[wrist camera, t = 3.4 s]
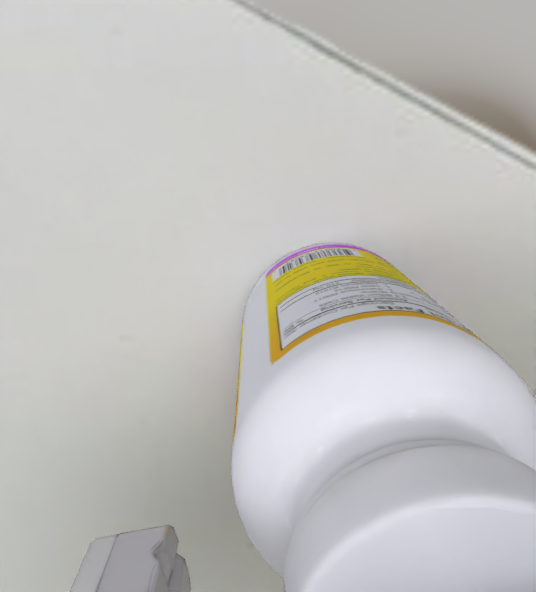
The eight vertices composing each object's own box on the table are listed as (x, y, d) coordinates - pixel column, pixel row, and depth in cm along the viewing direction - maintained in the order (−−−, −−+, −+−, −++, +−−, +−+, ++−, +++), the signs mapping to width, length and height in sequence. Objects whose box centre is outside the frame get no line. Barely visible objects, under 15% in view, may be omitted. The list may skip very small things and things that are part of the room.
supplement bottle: (348, 423, 20) (483, 843, 8) (211, 347, 19) (129, 702, 7) (446, 294, 19) (800, 575, 6) (303, 203, 18) (407, 335, 5)
